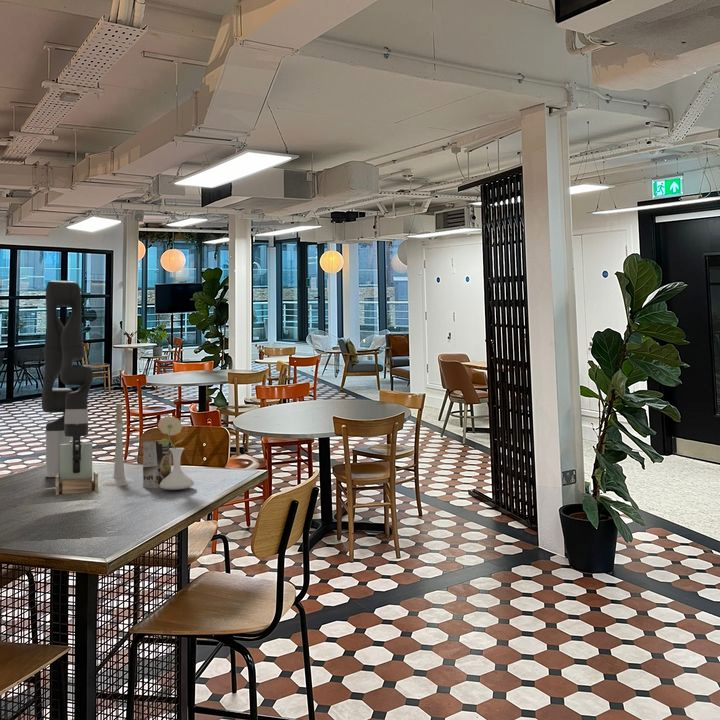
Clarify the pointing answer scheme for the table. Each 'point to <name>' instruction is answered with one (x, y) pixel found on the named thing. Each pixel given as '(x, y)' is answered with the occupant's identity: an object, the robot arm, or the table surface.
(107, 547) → the table surface
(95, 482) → the offcut rack
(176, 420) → the flower in vase
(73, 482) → the block
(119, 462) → the candlestick
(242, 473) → the table surface
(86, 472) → the tall sheet
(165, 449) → the coffee box
